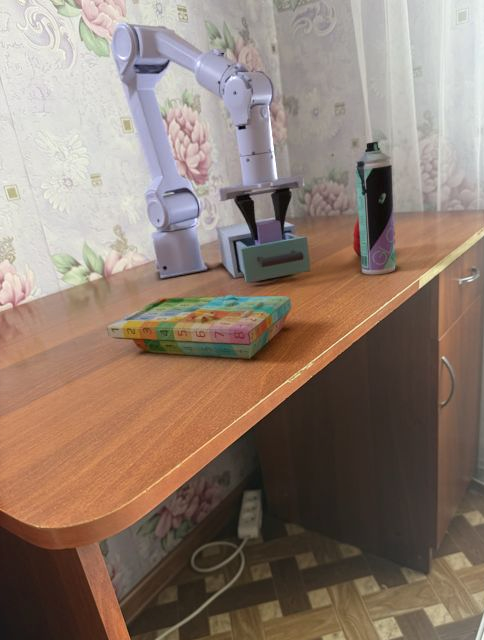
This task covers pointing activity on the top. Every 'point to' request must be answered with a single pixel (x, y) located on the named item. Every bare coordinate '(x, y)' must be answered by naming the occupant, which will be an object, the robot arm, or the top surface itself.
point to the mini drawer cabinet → (235, 233)
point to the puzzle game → (205, 325)
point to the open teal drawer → (272, 257)
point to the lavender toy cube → (268, 231)
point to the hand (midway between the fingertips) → (267, 237)
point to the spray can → (375, 211)
